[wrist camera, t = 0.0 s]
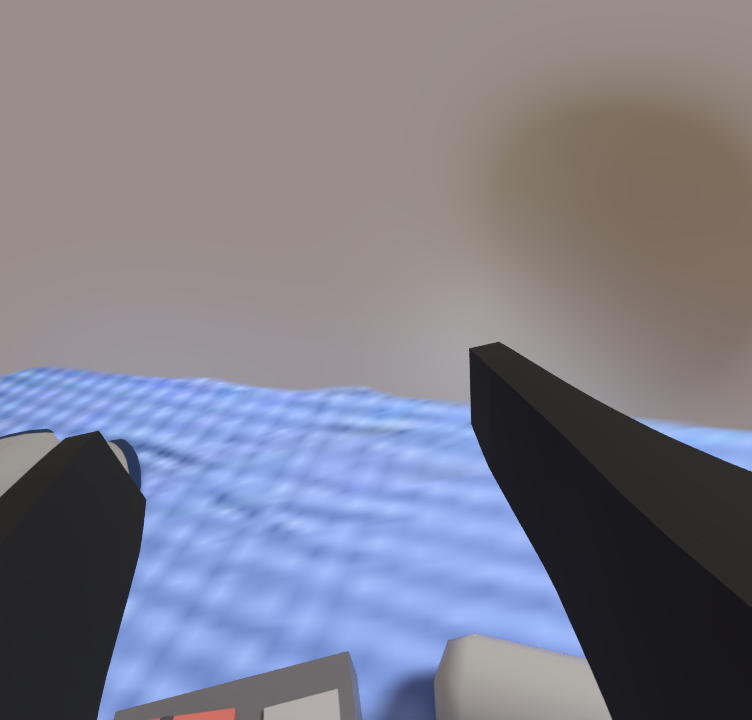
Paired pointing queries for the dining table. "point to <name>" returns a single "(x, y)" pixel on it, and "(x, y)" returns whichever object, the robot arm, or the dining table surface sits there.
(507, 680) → the tube
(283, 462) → the dining table surface
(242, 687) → the switch panel
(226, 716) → the rocker
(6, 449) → the sun hat
